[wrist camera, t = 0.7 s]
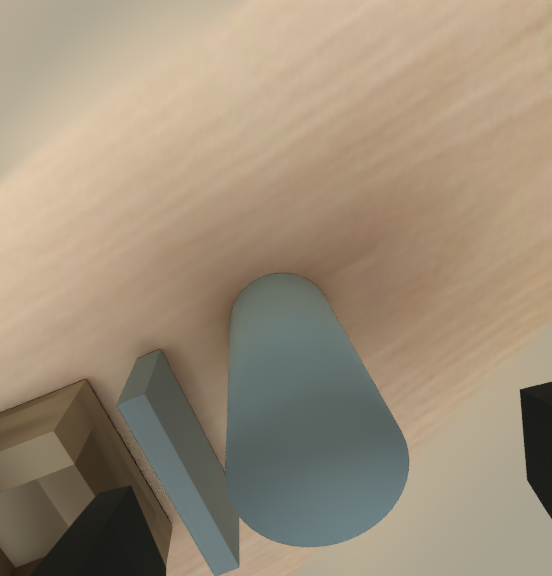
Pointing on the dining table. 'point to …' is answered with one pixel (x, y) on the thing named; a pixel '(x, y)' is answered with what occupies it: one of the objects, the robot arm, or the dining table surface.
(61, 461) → the frame
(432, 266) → the dining table surface
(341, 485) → the dowel
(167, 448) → the backstop wall
